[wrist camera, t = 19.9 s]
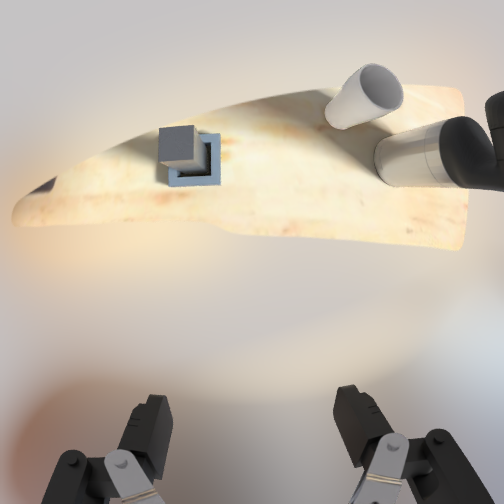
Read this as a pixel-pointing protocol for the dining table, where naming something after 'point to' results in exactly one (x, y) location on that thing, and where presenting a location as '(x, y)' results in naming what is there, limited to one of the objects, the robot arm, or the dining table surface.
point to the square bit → (183, 149)
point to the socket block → (214, 179)
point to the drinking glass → (365, 97)
